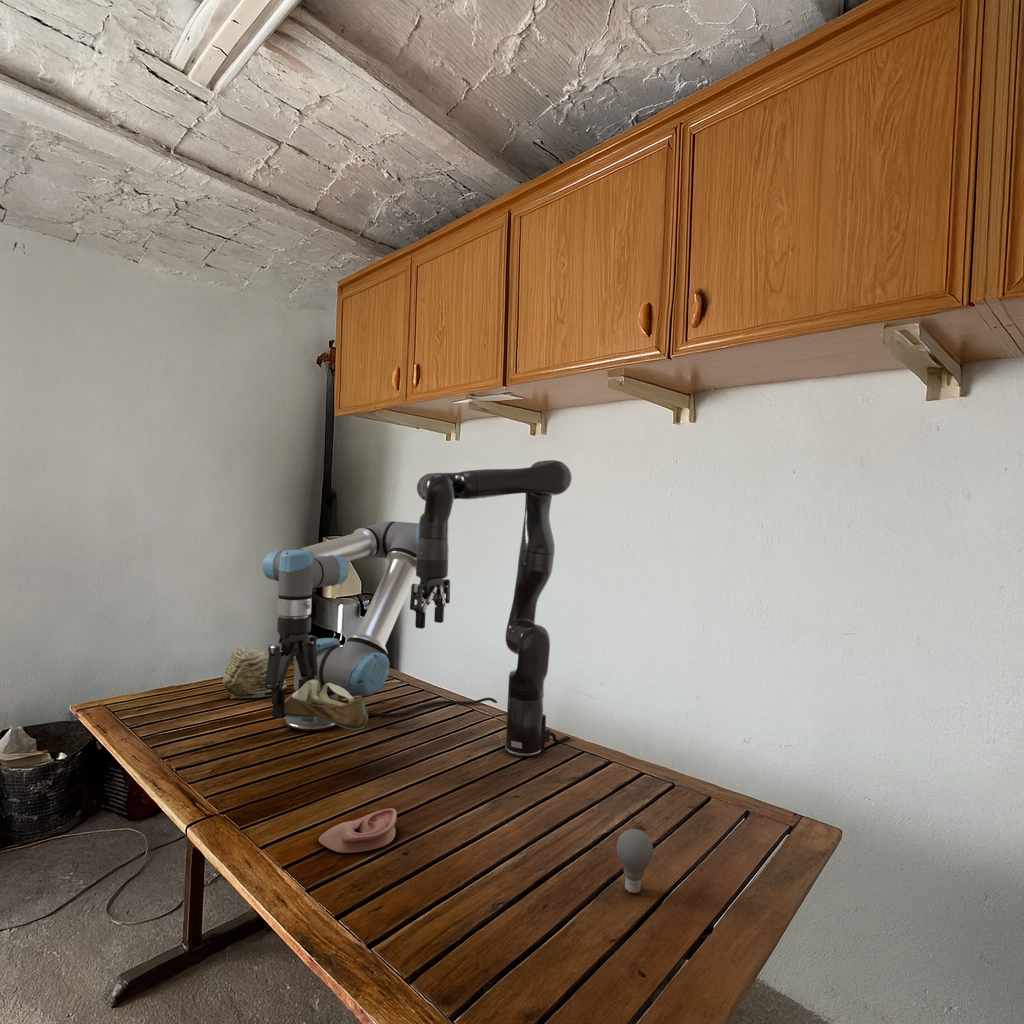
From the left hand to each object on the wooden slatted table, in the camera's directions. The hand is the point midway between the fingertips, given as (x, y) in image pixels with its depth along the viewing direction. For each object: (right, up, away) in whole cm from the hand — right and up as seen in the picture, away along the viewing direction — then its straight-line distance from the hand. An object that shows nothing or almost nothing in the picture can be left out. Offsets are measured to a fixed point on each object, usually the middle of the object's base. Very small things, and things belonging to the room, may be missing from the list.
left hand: (291, 711), depth 150 cm
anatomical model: (+24, -14, -31) cm, 41 cm away
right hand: (+33, +20, +1) cm, 39 cm away
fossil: (-28, -10, +48) cm, 57 cm away
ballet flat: (+8, -1, -3) cm, 9 cm away
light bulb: (+72, -16, -44) cm, 86 cm away
